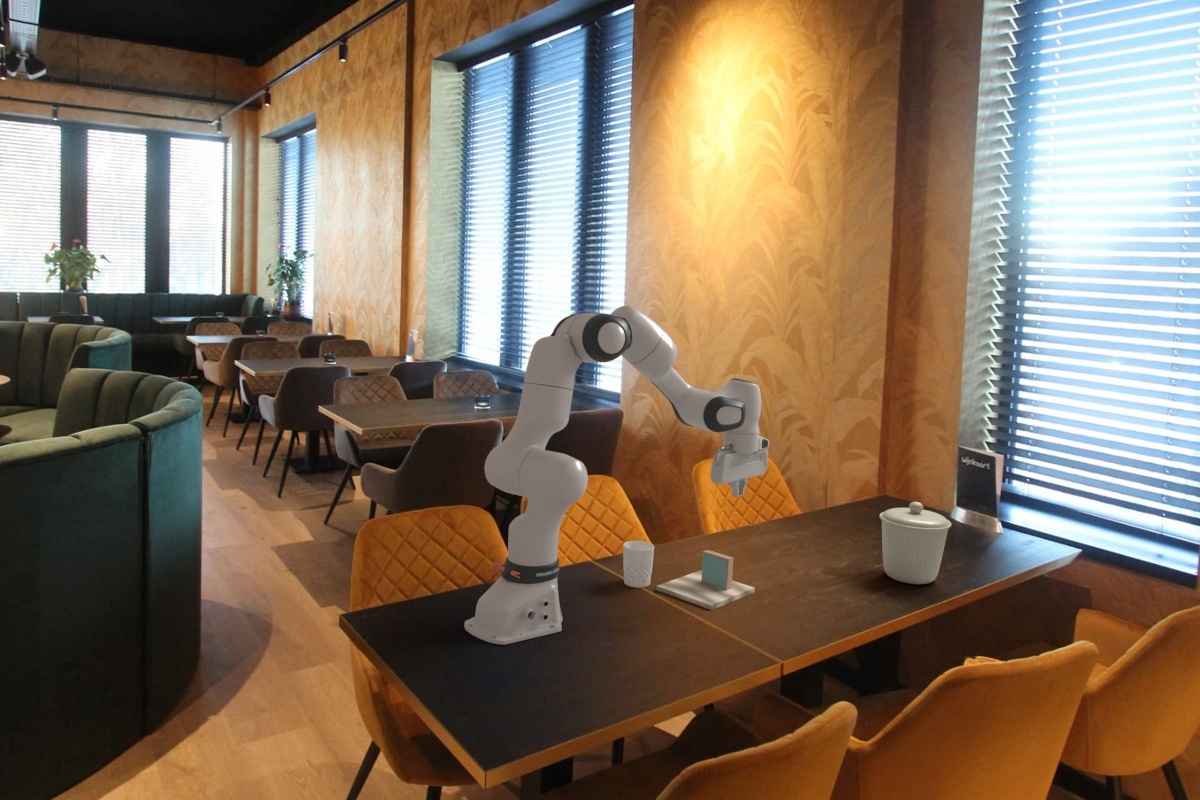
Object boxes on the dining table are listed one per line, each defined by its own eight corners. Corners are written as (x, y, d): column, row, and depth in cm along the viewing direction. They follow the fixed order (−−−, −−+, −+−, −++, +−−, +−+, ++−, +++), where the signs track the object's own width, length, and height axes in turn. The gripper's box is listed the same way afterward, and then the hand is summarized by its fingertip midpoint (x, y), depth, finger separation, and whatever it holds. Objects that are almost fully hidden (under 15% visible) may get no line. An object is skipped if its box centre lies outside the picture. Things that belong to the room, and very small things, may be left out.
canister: (956, 580, 229) (964, 503, 226) (927, 595, 217) (935, 515, 214) (893, 562, 242) (899, 490, 239) (862, 576, 229) (868, 500, 226)
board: (711, 610, 201) (711, 605, 201) (656, 590, 213) (656, 585, 213) (754, 592, 214) (754, 587, 214) (700, 574, 226) (700, 570, 225)
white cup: (650, 590, 213) (651, 551, 211) (619, 586, 214) (620, 548, 213) (654, 579, 220) (656, 542, 219) (624, 576, 222) (626, 539, 220)
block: (726, 590, 211) (728, 559, 210) (700, 581, 216) (702, 551, 215) (731, 588, 213) (733, 557, 211) (705, 579, 218) (707, 549, 217)
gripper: (727, 449, 205) (723, 505, 207) (773, 440, 220) (770, 492, 222) (706, 445, 209) (703, 499, 211) (752, 436, 224) (749, 487, 226)
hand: (737, 496), depth 217 cm, fingers closed
